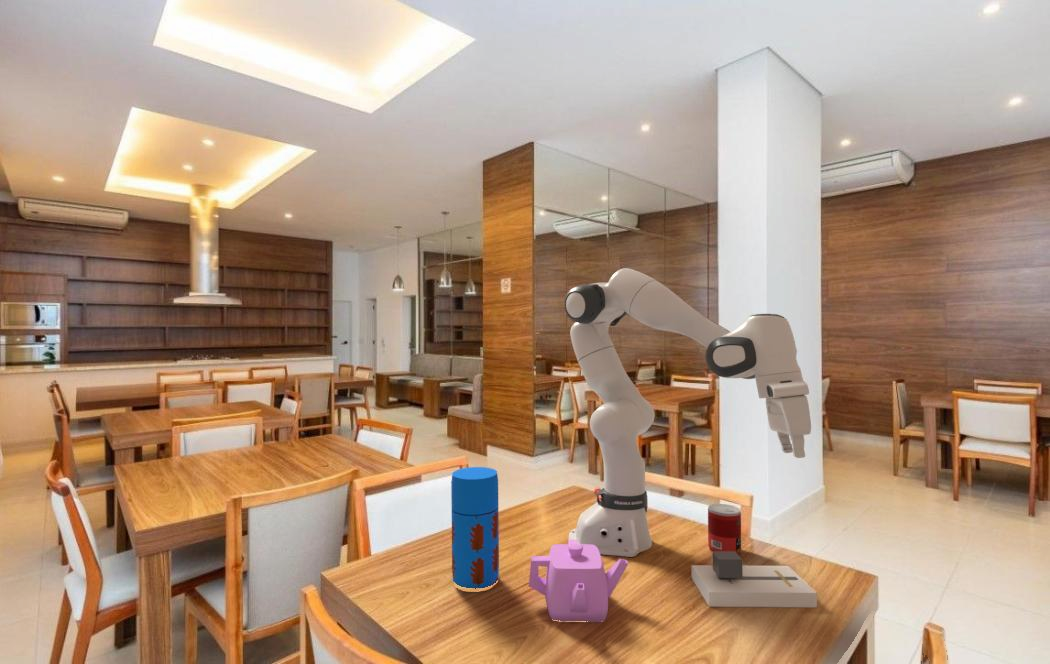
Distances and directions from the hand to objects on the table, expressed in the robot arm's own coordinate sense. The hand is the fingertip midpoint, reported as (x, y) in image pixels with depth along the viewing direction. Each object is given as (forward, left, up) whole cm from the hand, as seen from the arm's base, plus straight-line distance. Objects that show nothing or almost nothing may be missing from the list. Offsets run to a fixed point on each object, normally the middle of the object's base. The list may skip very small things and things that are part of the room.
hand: (793, 455), depth 102 cm
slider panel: (-6, +6, -32) cm, 33 cm away
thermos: (-67, +10, -32) cm, 75 cm away
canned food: (-4, +27, -32) cm, 42 cm away
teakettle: (-45, 0, -32) cm, 55 cm away
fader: (-12, +6, -28) cm, 31 cm away
